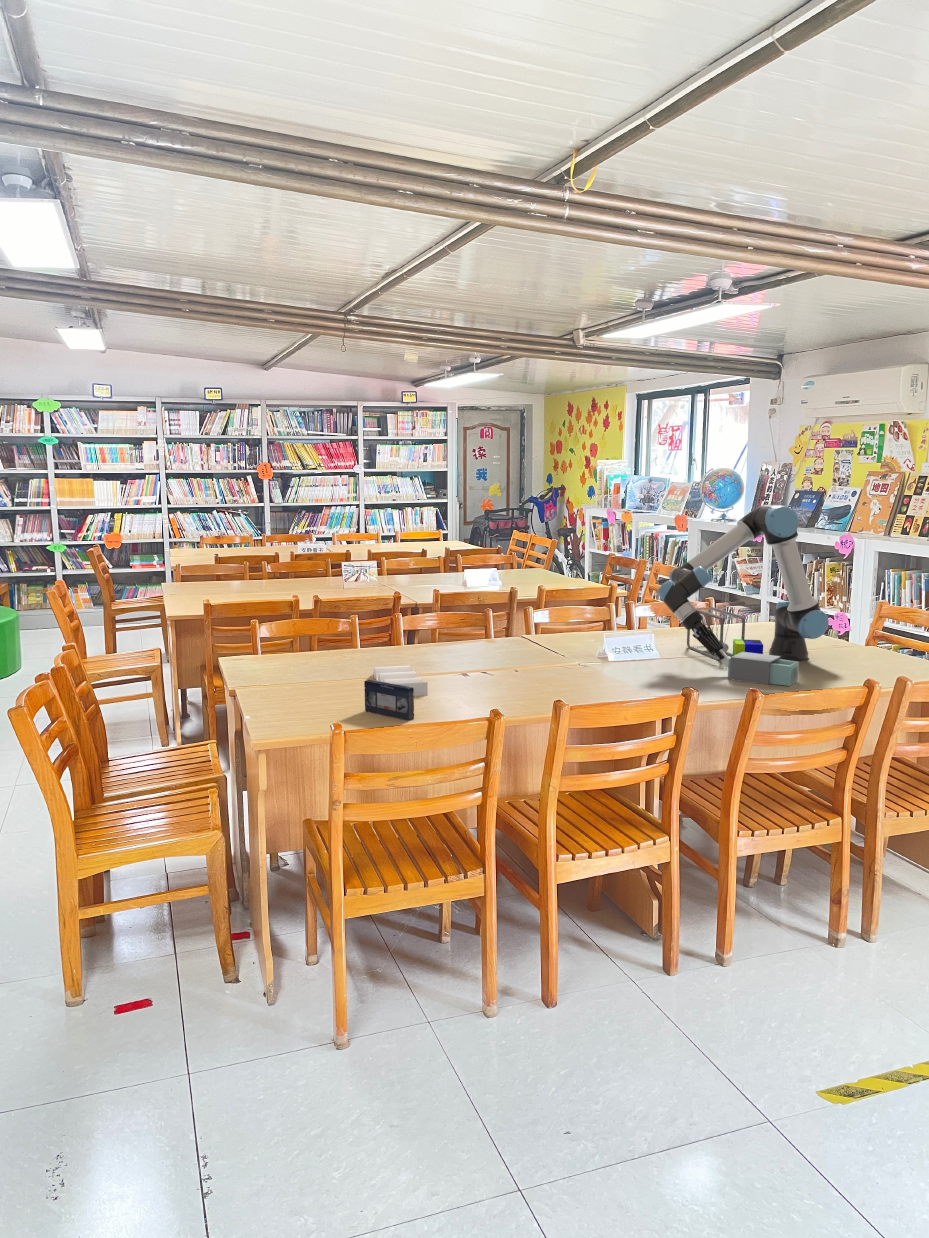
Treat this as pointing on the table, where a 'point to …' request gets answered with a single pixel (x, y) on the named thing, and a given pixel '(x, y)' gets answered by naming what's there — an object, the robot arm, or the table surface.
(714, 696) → the table surface
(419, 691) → the file organizer
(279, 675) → the table surface
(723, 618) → the newton's cradle
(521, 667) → the table surface
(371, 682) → the vhs cassette tape
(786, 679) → the sliding matchbox
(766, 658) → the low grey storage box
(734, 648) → the puzzle toy
